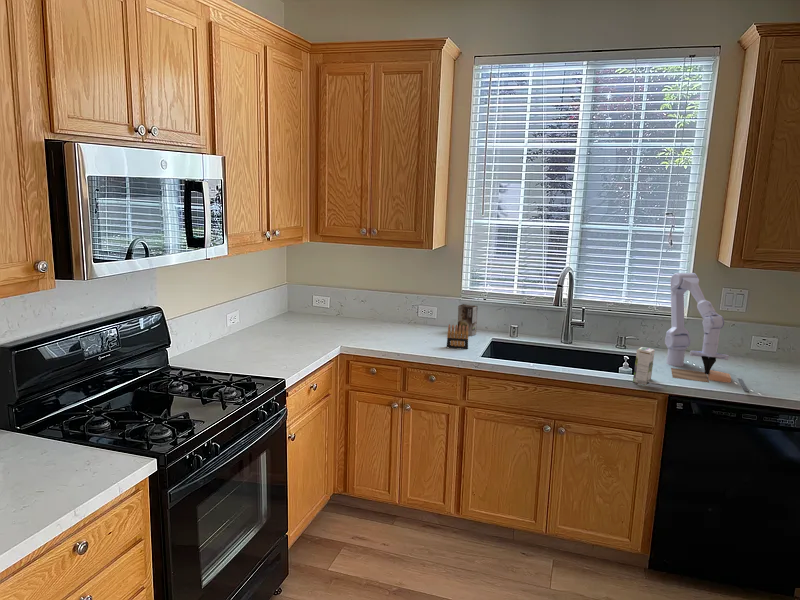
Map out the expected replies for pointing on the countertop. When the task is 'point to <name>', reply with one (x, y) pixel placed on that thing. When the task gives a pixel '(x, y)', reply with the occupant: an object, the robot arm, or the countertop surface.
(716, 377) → the terracotta tile
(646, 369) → the syrup box
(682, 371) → the walnut deck
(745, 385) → the slate mat
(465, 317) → the coffee box
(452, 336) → the ammunition clip
